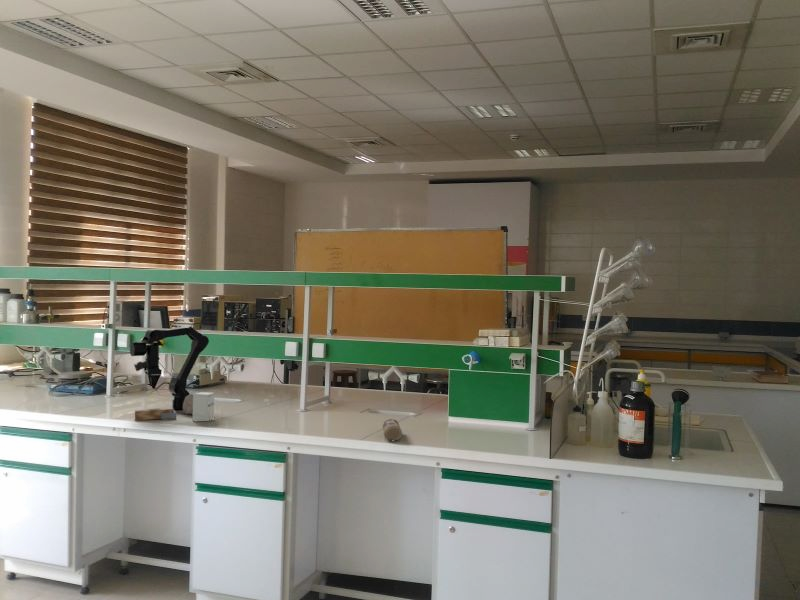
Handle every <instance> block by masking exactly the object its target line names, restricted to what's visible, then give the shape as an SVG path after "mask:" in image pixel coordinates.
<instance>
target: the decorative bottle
mask: <svg viewBox="0 0 800 600" xmlns="http://www.w3.org/2000/svg"><path fill="white" fill-rule="evenodd" d="M382 431H383V434H384V438H385V439H386V441H388V440H397V441H399V440H400V439H401V437H402V435H403V430H402V428H401V426H400V424H399V422H398V421H397V420H396V419H393V418H390V419H386V420H385V421H383V424H382Z"/></svg>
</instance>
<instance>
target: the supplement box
mask: <svg viewBox="0 0 800 600" xmlns="http://www.w3.org/2000/svg"><path fill="white" fill-rule="evenodd" d="M192 394H193V393H192ZM213 418H214V419H215V392H207V391H205V392H204V391H199V392H197V393H194V394H193V414H192V422H197V421H208V422H210V421H212V420H211V419H213ZM214 419H213V420H214ZM209 420H210V421H209Z"/></svg>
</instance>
